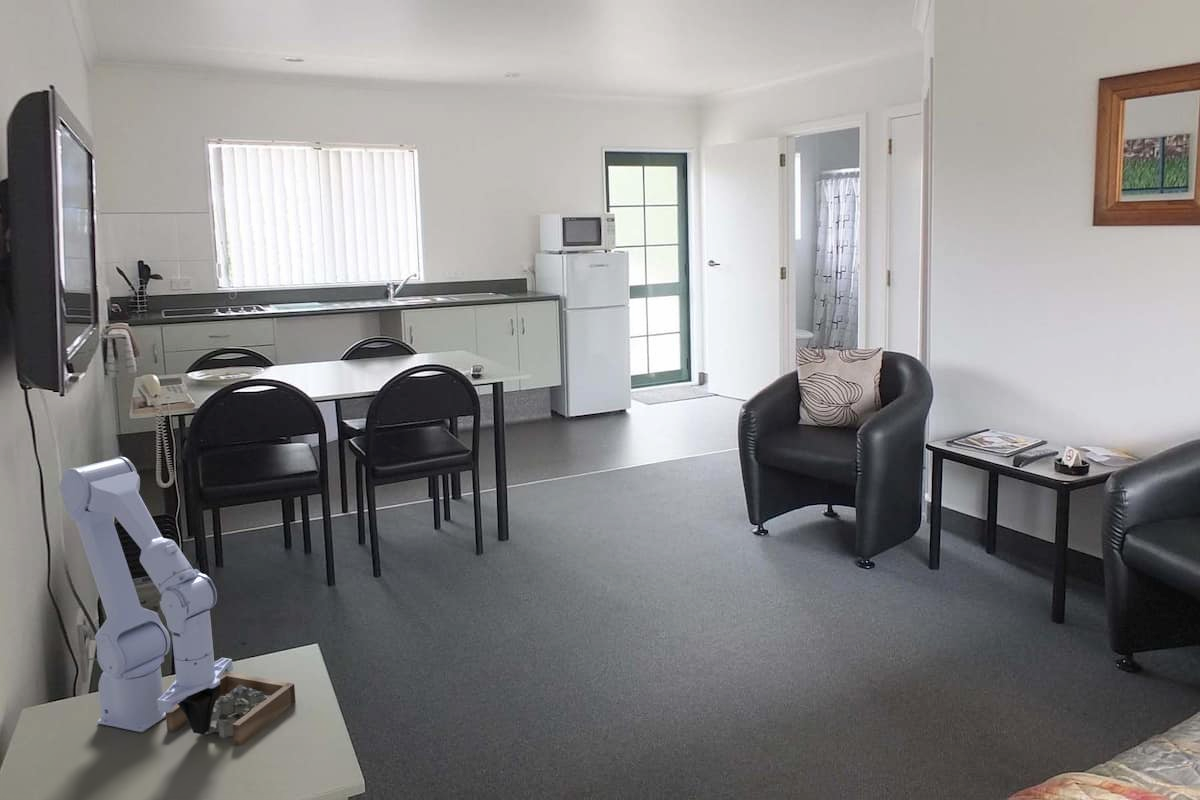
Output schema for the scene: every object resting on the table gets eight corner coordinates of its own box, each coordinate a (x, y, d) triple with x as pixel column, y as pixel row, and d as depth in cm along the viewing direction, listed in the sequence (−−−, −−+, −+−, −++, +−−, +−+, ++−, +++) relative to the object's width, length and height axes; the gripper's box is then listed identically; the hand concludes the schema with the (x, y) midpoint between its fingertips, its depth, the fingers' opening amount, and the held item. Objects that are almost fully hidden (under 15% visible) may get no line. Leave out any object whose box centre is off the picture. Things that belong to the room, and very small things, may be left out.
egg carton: (228, 742, 148) (226, 719, 147) (193, 732, 151) (191, 709, 150) (275, 710, 157) (273, 688, 156) (241, 701, 160) (239, 680, 159)
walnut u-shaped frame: (167, 731, 150) (165, 711, 150) (227, 690, 164) (225, 671, 163) (240, 745, 146) (238, 725, 145) (295, 702, 159) (294, 683, 159)
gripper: (180, 677, 137) (188, 760, 140) (245, 636, 151) (251, 712, 153) (142, 670, 139) (151, 752, 142) (209, 631, 153) (216, 706, 155)
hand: (201, 731), depth 148 cm, fingers closed
